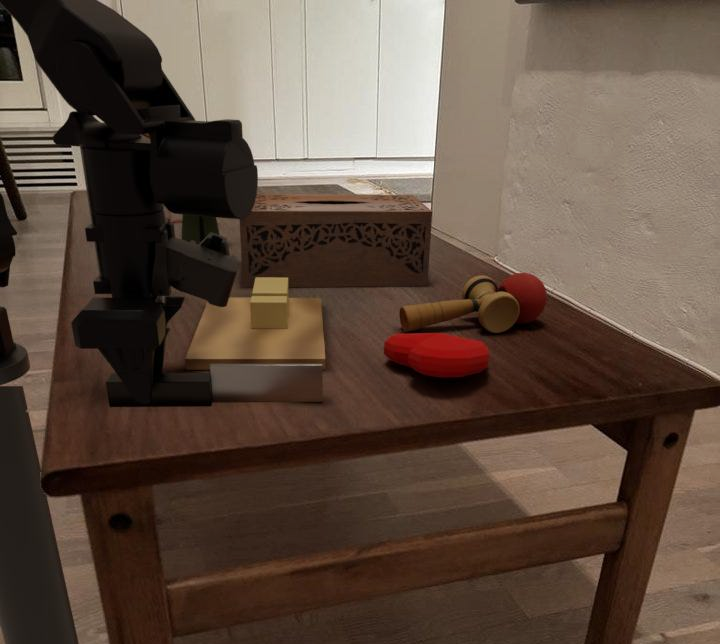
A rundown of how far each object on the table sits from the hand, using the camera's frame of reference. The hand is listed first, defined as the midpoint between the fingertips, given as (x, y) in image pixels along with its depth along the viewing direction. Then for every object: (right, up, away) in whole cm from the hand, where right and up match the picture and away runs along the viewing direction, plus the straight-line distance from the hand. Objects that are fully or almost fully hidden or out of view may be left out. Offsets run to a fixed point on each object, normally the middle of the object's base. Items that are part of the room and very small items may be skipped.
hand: (150, 391), depth 66 cm
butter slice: (+9, +10, +17) cm, 21 cm away
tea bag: (-15, +42, +76) cm, 88 cm away
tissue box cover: (+15, +22, +43) cm, 50 cm away
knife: (+6, -1, +1) cm, 6 cm away
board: (+8, +9, +18) cm, 21 cm away
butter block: (+8, +12, +22) cm, 27 cm away
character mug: (-7, +30, +56) cm, 64 cm away
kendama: (+32, +10, +22) cm, 41 cm away
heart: (+27, +3, +9) cm, 29 cm away
